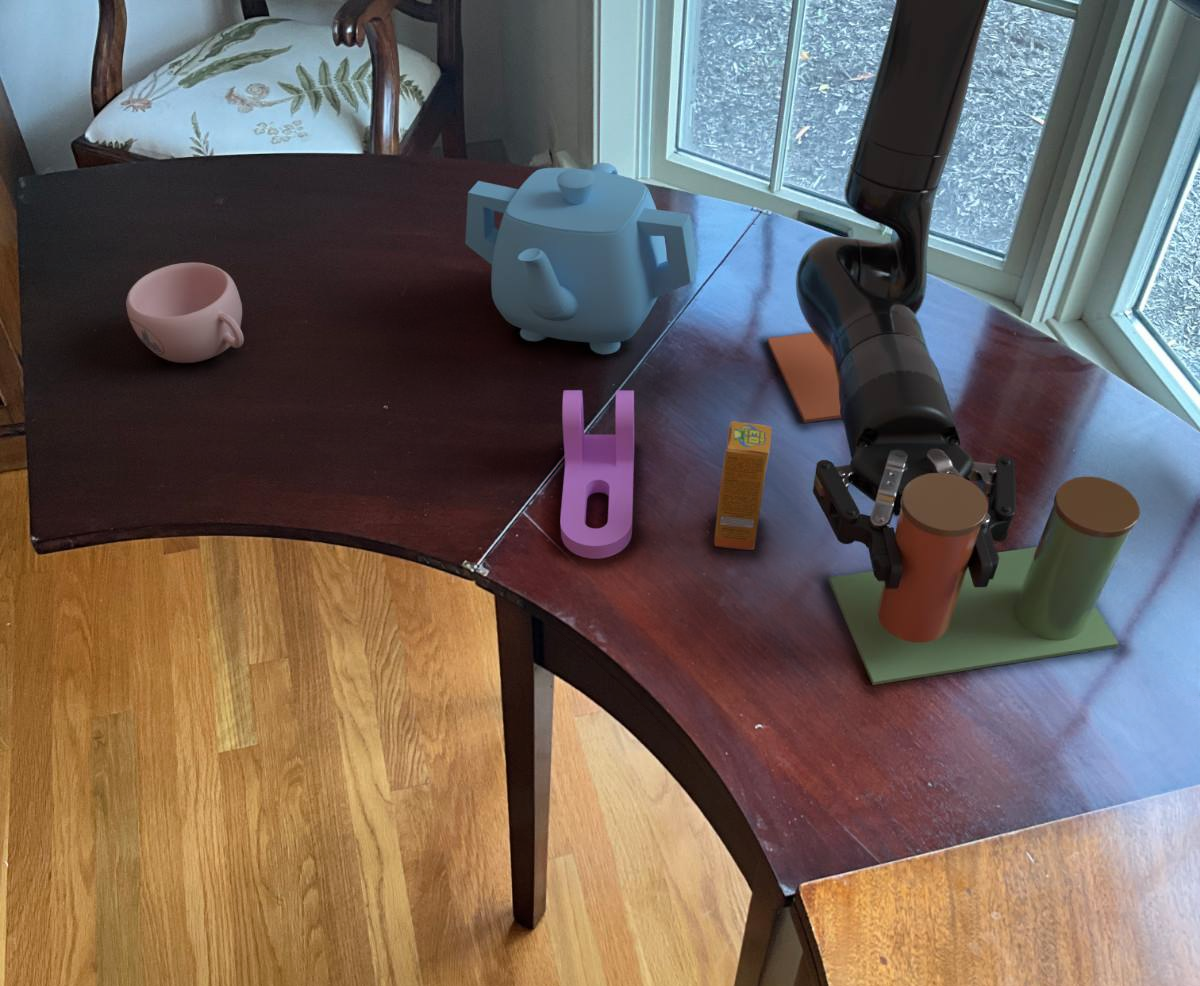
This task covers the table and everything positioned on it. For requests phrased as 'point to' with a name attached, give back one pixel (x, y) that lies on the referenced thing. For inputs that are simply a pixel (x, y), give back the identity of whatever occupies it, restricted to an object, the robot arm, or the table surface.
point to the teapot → (579, 253)
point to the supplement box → (742, 485)
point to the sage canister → (1075, 556)
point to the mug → (186, 312)
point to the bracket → (597, 477)
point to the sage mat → (958, 627)
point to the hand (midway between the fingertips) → (939, 578)
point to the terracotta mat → (808, 375)
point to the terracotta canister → (932, 554)
